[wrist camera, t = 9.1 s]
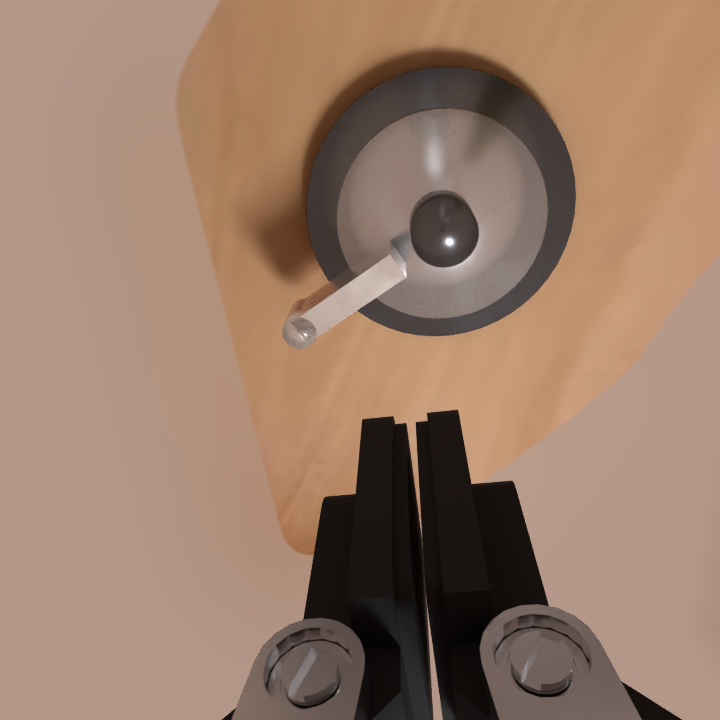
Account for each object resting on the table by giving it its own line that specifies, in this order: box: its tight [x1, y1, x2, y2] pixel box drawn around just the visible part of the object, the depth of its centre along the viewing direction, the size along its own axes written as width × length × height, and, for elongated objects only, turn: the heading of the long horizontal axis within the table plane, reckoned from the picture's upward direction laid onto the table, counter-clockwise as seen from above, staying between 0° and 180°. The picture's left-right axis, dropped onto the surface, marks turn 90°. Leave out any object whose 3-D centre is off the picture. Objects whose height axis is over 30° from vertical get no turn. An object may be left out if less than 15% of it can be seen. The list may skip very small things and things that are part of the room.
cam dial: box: [282, 107, 548, 349], centre depth 35 cm, size 17×12×4 cm
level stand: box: [307, 67, 576, 336], centre depth 37 cm, size 16×16×1 cm
